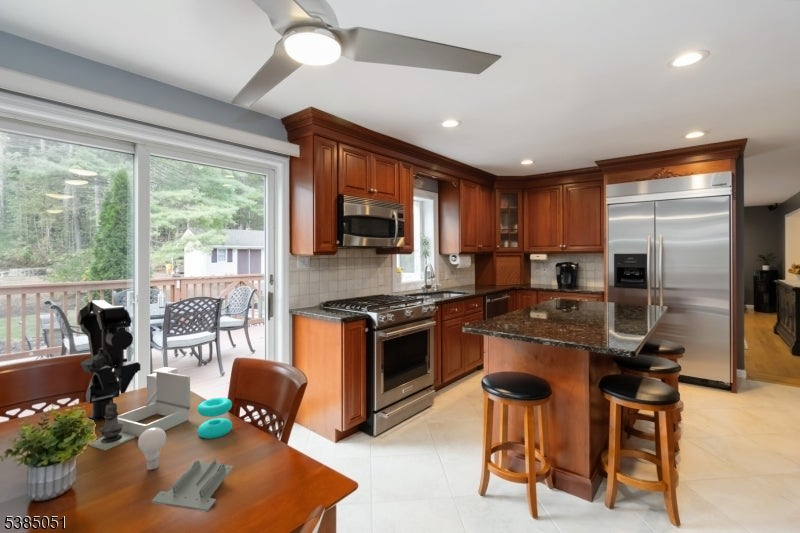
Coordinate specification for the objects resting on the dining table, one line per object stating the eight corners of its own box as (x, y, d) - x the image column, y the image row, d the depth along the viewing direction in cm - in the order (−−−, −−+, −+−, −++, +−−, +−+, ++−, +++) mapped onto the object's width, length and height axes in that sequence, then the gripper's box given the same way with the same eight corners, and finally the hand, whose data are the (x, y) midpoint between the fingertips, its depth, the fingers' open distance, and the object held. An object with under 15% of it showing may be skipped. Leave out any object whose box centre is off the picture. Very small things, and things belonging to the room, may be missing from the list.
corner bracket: (164, 396, 155) (163, 366, 155) (187, 399, 152) (186, 369, 152) (140, 406, 145) (139, 374, 144) (164, 409, 142) (163, 377, 141)
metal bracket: (189, 452, 100) (240, 458, 97) (194, 470, 102) (245, 476, 99) (144, 500, 87) (202, 509, 84) (151, 519, 89) (208, 529, 86)
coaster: (87, 444, 115) (87, 442, 115) (117, 432, 123) (117, 431, 123) (105, 450, 112) (105, 448, 112) (134, 437, 120) (134, 435, 120)
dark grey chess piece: (105, 445, 114) (104, 405, 113) (95, 440, 116) (95, 401, 116) (127, 437, 119) (126, 398, 118) (117, 433, 122) (117, 395, 121)
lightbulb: (172, 465, 104) (171, 425, 104) (150, 477, 98) (149, 435, 98) (155, 460, 106) (154, 421, 106) (132, 473, 100) (131, 431, 100)
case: (112, 429, 125) (111, 384, 125) (159, 411, 140) (158, 370, 139) (145, 438, 119) (144, 391, 119) (190, 418, 134) (190, 376, 133)
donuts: (216, 394, 130) (238, 398, 126) (216, 423, 130) (239, 428, 126) (190, 405, 120) (213, 410, 117) (190, 436, 121) (214, 442, 117)
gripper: (67, 347, 122) (68, 395, 123) (104, 352, 115) (105, 404, 116) (105, 340, 133) (106, 384, 133) (141, 344, 126) (142, 392, 126)
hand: (113, 391), depth 127 cm, fingers open, 9 cm apart
